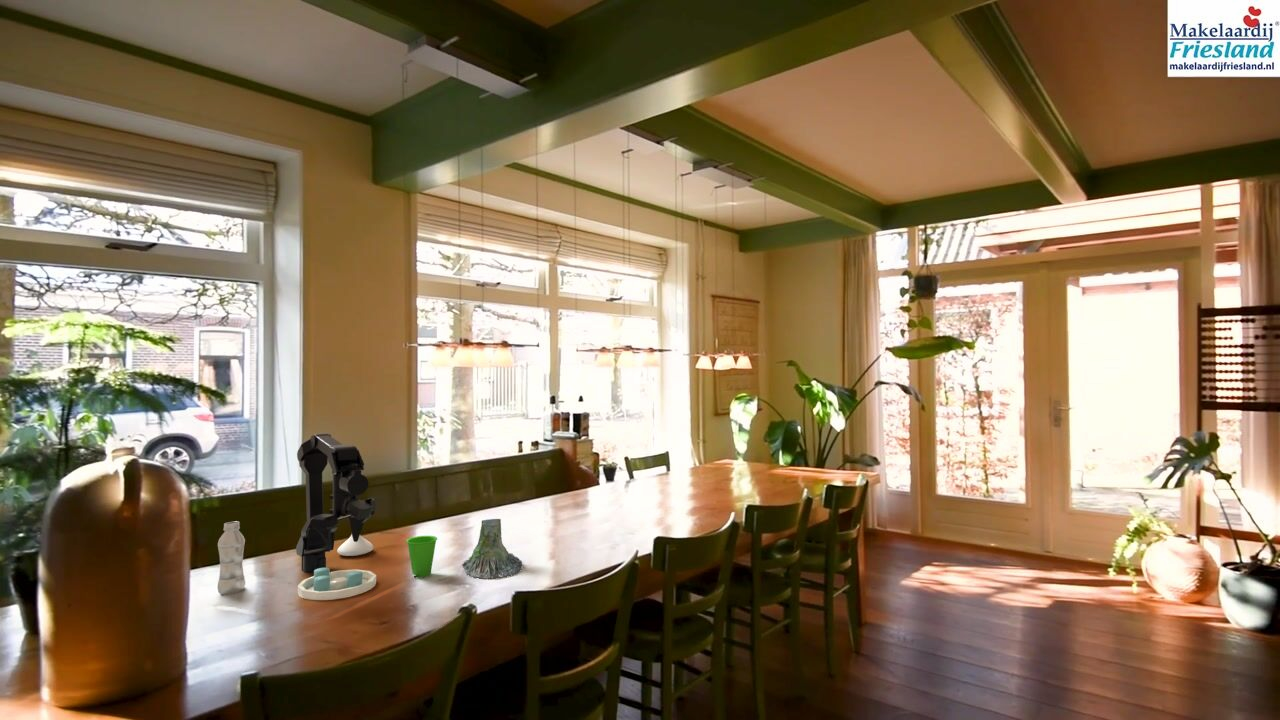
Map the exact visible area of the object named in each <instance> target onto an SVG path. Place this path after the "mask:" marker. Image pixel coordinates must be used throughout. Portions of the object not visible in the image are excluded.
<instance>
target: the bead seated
mask: <svg viewBox="0 0 1280 720" xmlns="http://www.w3.org/2000/svg"><path fill="white" fill-rule="evenodd" d="M330 572H331V570H330V568H329V567H326V568H319V569H316V570H314V572H313V576H314V578H315V577H318V576H330Z"/></svg>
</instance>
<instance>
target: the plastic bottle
mask: <svg viewBox="0 0 1280 720" xmlns="http://www.w3.org/2000/svg"><path fill="white" fill-rule="evenodd" d="M240 529H241V527H240V521H237V520H236V521H229V522H225V523H223V531H224V532H223V533H222V534H221V536H220V537H219V539H218V542H217V549H218V554H219V577H218V582H217V590H218V591H217V592H218V593H219V595H221V596H224V595H232V594H236V593H239V592H240V593H241V592H242V591H244V589H245V587H246V579H245V575H244V574H245V573H244V565H243V560H244V549H245V542H246V538H245V537H244V535H243V533H242V532H241V531H240Z"/></svg>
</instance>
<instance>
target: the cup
mask: <svg viewBox="0 0 1280 720" xmlns="http://www.w3.org/2000/svg"><path fill="white" fill-rule="evenodd" d="M437 540H438V536H437V537H436V536H434V535H418V536H414V537H412V536H411V537H410V538H408V539H406V541H405V542H406V543H407V547H408V554H409V560H410V566H411V572H412V574H413V578H415V577H418V578H417V579H421V578H420V577H424V578H427V577H426V576H428V577H430V576H431V573H432V567H433V561H434V555H435V550H436V543H437Z"/></svg>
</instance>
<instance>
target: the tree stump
mask: <svg viewBox="0 0 1280 720" xmlns="http://www.w3.org/2000/svg"><path fill="white" fill-rule="evenodd" d="M503 543H504V542H503V539H502V521H501V518H491V519H490V518H489V519H488V518H487V519H482V520H481V527H480V530H479V536H478V542H477V544H476V546H475V548H473V551H472V554H471V556H469V557H468V559H465V560H464V561H463V563H461V566H462V567H463V570H464V571H465V575H466V576H467V575H469V576H468V577H470V578H472V577H473V579H476V578H479V579H478V580H487V579H488V580H497V579H496V578H499V579H504V578H503V577H505V578H508V577H507V576H510V577H512V576H511V575H513V576H515V575H517V574H519V571H520V570H521V569H523V562H522V560H520V558H519V557H518V556H515V555H514V553H511V552H509V551H508V549H507V548H506V547H505V546H504V544H503ZM521 571H522V570H521ZM516 573H517V574H516ZM500 574H501V576H499V575H500ZM514 574H515V575H514Z"/></svg>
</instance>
